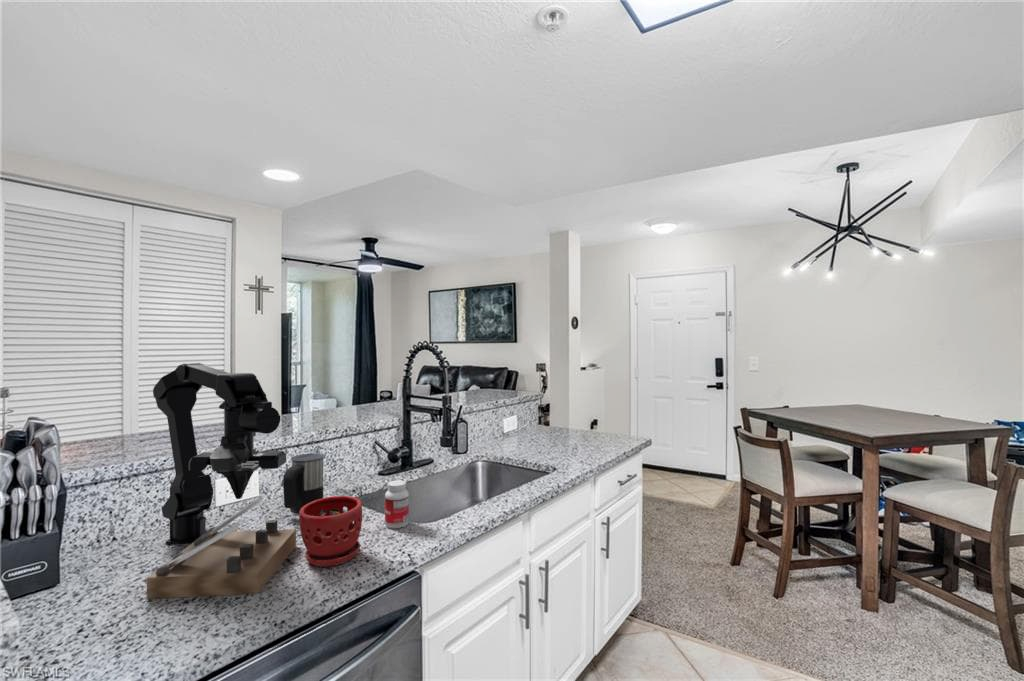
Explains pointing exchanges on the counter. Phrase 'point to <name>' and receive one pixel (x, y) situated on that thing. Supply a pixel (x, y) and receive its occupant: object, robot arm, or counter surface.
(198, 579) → the block
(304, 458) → the milk frother
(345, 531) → the plant pot
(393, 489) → the pill bottle
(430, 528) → the counter surface
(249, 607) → the counter surface
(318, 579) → the counter surface
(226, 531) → the strap
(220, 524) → the strap
